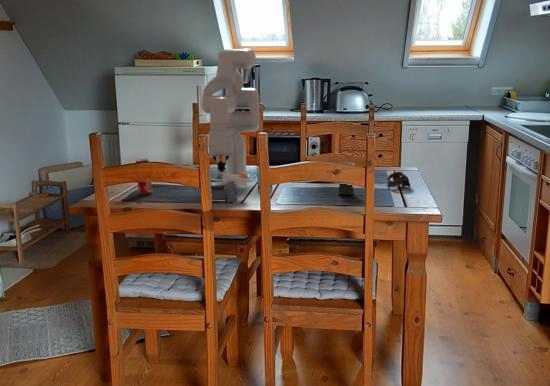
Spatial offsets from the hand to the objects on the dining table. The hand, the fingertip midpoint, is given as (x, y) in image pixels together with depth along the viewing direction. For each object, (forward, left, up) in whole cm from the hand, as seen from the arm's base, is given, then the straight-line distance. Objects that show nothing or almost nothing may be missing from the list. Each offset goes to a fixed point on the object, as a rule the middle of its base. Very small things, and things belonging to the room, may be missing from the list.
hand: (221, 171), depth 244 cm
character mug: (+5, +51, -10) cm, 53 cm away
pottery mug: (-5, +75, -11) cm, 76 cm away
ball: (+7, +9, -1) cm, 12 cm away
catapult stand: (+7, +5, -10) cm, 13 cm away
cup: (+7, -1, -10) cm, 12 cm away
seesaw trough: (+4, +5, -3) cm, 7 cm away
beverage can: (-6, -34, -10) cm, 36 cm away
